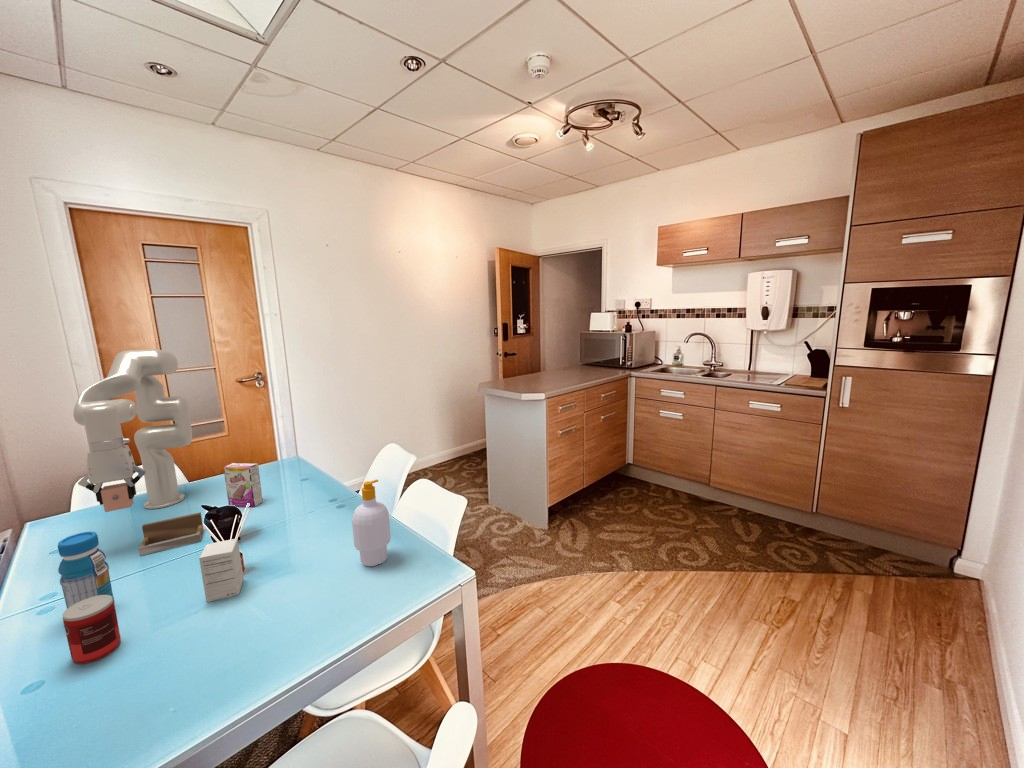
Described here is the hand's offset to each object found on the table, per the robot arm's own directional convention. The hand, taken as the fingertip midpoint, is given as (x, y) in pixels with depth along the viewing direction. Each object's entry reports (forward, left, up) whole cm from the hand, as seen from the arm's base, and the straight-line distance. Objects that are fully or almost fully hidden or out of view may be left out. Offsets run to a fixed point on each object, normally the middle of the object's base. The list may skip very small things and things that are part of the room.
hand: (117, 499), depth 129 cm
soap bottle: (+50, +65, -17) cm, 84 cm away
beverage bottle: (+33, 0, -17) cm, 37 cm away
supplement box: (+42, +28, -17) cm, 53 cm away
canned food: (+51, +5, -17) cm, 54 cm away
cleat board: (+2, +12, -17) cm, 21 cm away
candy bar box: (-18, +32, -17) cm, 41 cm away
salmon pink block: (-1, 0, -3) cm, 3 cm away
